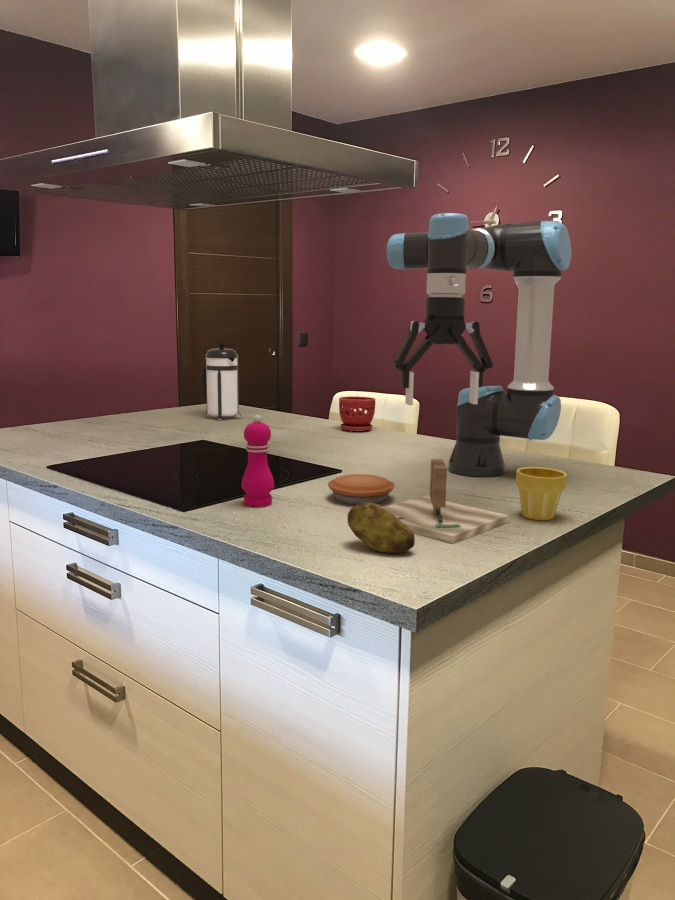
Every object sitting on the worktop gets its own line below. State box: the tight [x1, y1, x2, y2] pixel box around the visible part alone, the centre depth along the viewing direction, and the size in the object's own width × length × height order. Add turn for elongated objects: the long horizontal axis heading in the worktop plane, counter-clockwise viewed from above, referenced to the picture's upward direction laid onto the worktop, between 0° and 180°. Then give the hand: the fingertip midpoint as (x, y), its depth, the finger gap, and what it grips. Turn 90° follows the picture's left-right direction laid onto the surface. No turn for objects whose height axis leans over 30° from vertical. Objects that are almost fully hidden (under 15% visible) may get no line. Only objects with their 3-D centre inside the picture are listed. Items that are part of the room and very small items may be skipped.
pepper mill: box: [241, 414, 275, 508], centre depth 160 cm, size 7×7×20 cm
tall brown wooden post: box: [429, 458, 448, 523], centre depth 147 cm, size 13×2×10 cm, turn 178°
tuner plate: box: [382, 495, 510, 545], centre depth 150 cm, size 20×22×2 cm
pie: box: [327, 473, 396, 506], centre depth 167 cm, size 15×16×5 cm
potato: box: [347, 502, 416, 554], centre depth 132 cm, size 8×13×8 cm, turn 38°
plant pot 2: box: [515, 466, 568, 521], centre depth 154 cm, size 10×10×10 cm
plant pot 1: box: [338, 396, 376, 432], centre depth 262 cm, size 13×13×12 cm
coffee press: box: [202, 341, 243, 420], centre depth 284 cm, size 17×16×30 cm
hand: (441, 404), depth 146 cm, fingers open, 13 cm apart
